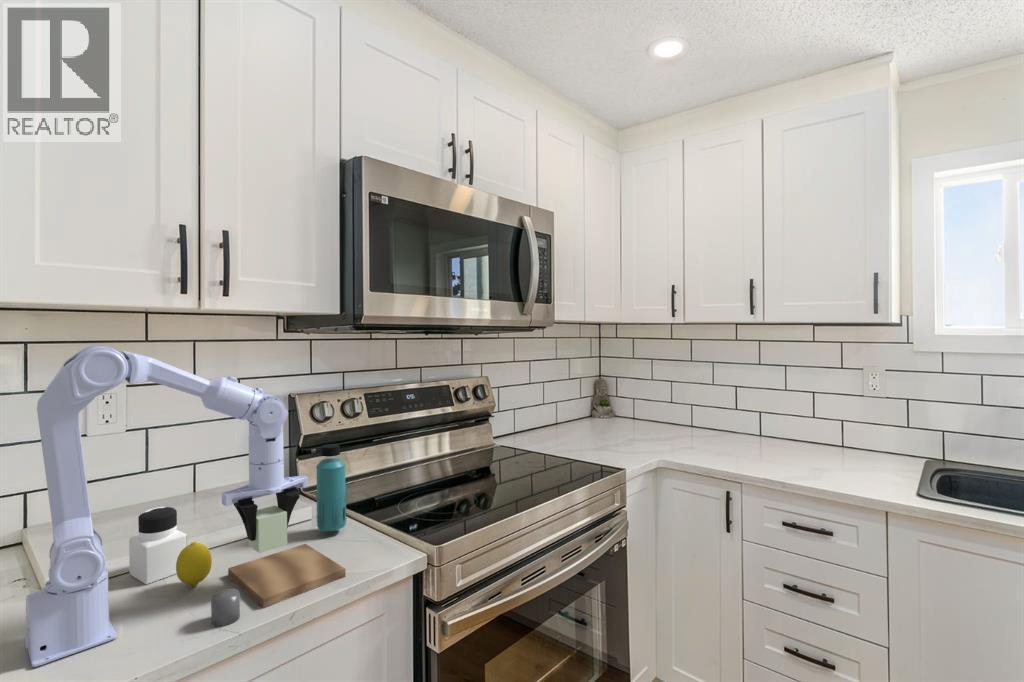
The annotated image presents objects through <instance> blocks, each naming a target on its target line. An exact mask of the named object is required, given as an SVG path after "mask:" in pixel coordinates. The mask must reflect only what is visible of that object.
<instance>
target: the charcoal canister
mask: <svg viewBox="0 0 1024 682" xmlns="http://www.w3.org/2000/svg"><path fill="white" fill-rule="evenodd" d="M240 603H241V601H240V590H239V589H236V588H227V589H223V590H218V591H217V592H215V593H214V594H212V595H211V598H210V614H211V617H210V618H211V619H210V621H211V625H212V626H213V627H216V628H221V627H227V626H230V625H233V624H235V623H236V622H237V621H239V619H240V616H241V614H240V613H241V612H240V607H241V606H240V605H241V604H240Z"/></svg>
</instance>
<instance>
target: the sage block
mask: <svg viewBox="0 0 1024 682" xmlns="http://www.w3.org/2000/svg"><path fill="white" fill-rule="evenodd" d="M247 545H248V547H250V548H252V549H253V550H254V552H255V551H256V552H257V553H258V554H260V553H261V554H262V553H264V552H268V551H270V550H274V549H277V548H280V547H283V546H287V545H288V528H287V512H286V511H284V510H282V509H281V508H279V507H278V505H271V506H268V507H263V508H260V509H257V514H256V540H254V541H251V540H249V539H248V538H247Z"/></svg>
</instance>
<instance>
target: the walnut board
mask: <svg viewBox="0 0 1024 682" xmlns="http://www.w3.org/2000/svg"><path fill="white" fill-rule="evenodd" d="M227 570H228V571H227V572H228V573H227V575H229V576H230V577H231V578H232V579H233V580H234V581H235V582H236V583H237V584H236V583H235V582H234V581H233V580H232V579H231V578H230V577H229V576H228V577H229V578H230V579H231V580H232V581H233V582H234V583H235V584H236V585H238V586H239V588H241V589H242V590H243V591H244V590H245V591H246V592H247V593H248V594H247V593H246V592H245V591H244V592H245V593H246V594H247V595H248V596H250V598H252V599H253V600H254V601H255V602H256V603H257V604H259V606H260V607H262V608H263V609H265V608H267V607H270V606H272V605H275V604H278V603H280V601H281V602H283V601H285V599H286V600H288V599H291V598H293V597H296V596H298V594H299V595H301V594H303V592H304V593H305V592H308V590H309V591H311V589H312V590H314V589H316V587H317V588H319V587H322V586H324V584H325V585H327V584H330V583H333V582H334V580H335V581H338V580H340V579H343V578H345V577H346V568H345V567H343V566H342V565H340V564H339V563H337V562H336V561H334V560H333V559H330V558H329V557H327V556H326V555H324V554H323V553H321V552H320V551H318V550H316V549H315V548H313V547H312V546H310V545H309V544H307V543H304V544H300V545H297V546H294V547H290V548H289V549H288V548H287V549H285V550H282V551H278V552H275V553H271V554H268V555H266V556H261V557H260V558H256V559H253V560H250V561H247V562H244V563H240V564H237V565H234V566H231V567H228V569H227ZM337 579H338V580H337ZM329 582H330V583H329ZM326 583H327V584H326ZM321 585H322V586H321ZM313 588H314V589H313ZM295 595H296V596H295ZM290 597H291V598H290ZM287 598H288V599H287ZM282 600H283V601H282Z"/></svg>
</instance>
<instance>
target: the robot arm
mask: <svg viewBox="0 0 1024 682" xmlns="http://www.w3.org/2000/svg"><path fill="white" fill-rule="evenodd" d="M124 381H125V382H126V383H128V385H133V384H140V383H147V382H150V383H155V384H157V385H162V386H165V387H167V388H170V389H173V390H177V391H180V392H183V393H187V394H190V395H193V396H196V397H198V398H200V399H201V402H202V404H203V406H204V408H205V409H207V410H212V411H215V412H217V413H220V414H223V415H226V416H229V417H232V418H235V419H238V420H241V421H242V420H243V421H245V420H246V421H247V422H248V484H246V485H243V486H240V487H237V488H234V489H231V490H229V491H224V492H221V504H222V505H223V506H225V507H229V506H234V507H235V510H236V511H237V513H238V514H239V516H240V518H241V521H242V523H243V526H244V529H245V532H246V538H247V540H248V539H249V540H251V541H254V540H256V514H257V510H258V507H259V506H258V504H256V503H255V501H254V500H253V499H257V498H261V497H265V496H271V495H275V497H276V503H277V507H279V508H281V509H282V510H284V511H286V512H287V529H288V527H289V522H290V519H291V517H292V513H293V510H294V508H295V506H296V504H297V502H298V501H299V499H300V497H301V495H300V494H301V493H300V491H299V490H297V489H299V488H302V489H305V488H309V487H308V486H309V484H308V483H309V477H308V476H306V475H303V474H302V475H297V476H295V475H294V476H288V477H285V472H284V471H285V470H284V469H285V468H284V467H285V465H284V463H285V461H284V455H285V454H284V429H283V428H284V427H283V426H284V423H286V421H287V418H288V415H289V411H288V409H287V407H286V403H284V401H283V400H282V399H281V398H279V397H277V396H275V395H271V394H268V393H267V392H265V391H264V389H263V388H260V387H256V388H253V387H251V386H248V385H246V384H243V383H241V382H237V381H238V378H236V377H234V376H231V375H228V376H227V377H224V376H217V377H215V378H212V379H206V378H205V377H201V376H199V375H196V374H194V373H191V372H189V371H186V370H184V369H181V368H178V367H177V366H173V365H171V364H168V363H166V362H163V361H161V360H159V359H156V358H154V357H152V356H147V355H144V354H140V353H135V352H131V351H128V350H121V349H120V352H119V350H118V351H117V350H116V349H114V348H113V347H110V346H107V345H103V344H102V345H101V344H94V345H93V344H92V345H90V346H87V347H86V346H85V347H84V348H82V349H81V350H79V351H78V352H76V353H75V354H74V355H72V356H71V357H70V358H68V359H67V360H65V361H64V363H63V364H62V366H61V367H60V369H59V371H58V372H57V373H56V375H55V376H54V377H53V379H52V380H51V381H50V382H49V384H48V386H47V387H46V388H45V390H44V391H43V392H42V394H41V395H40V397H39V399H38V400H37V404H36V411H37V412H36V413H37V420H38V426H39V434H40V441H41V447H42V448H41V449H42V457H43V463H44V465H43V466H44V472H45V480H46V481H45V482H46V487H47V495H48V502H49V509H50V519H51V524H52V538H53V539H52V540H53V541H52V544H51V546H50V548H49V552H48V553H49V555H48V556H49V559H50V563H49V569H48V580H47V581H46V582H45V587H44V588H42V589H39V590H37V591H35V592H32V593H29V594H27V595H26V598H25V622H26V635H24V647H25V649H27V652H28V656H29V660H30V664H31V668H36V667H39V666H43V665H45V664H48V663H51V662H54V661H56V660H60V659H62V658H65V657H68V656H70V655H74V654H77V653H80V652H83V651H84V650H88V649H91V648H93V647H96V646H99V645H101V644H104V643H107V642H110V641H113V640H115V639H117V638H118V633H117V632H116V630H115V629H114V626H113V625H112V622H111V620H110V609H109V608H110V607H109V606H110V605H109V571H108V568H106V564H107V560H106V556H105V553H104V551H103V539H102V536H101V535H100V533H98V532H97V531H96V530H95V528H94V526H93V519H92V513H91V503H90V496H89V494H90V493H89V486H88V480H87V473H86V464H85V457H84V456H85V455H84V448H83V441H82V440H83V439H82V431H81V423H80V416H79V414H80V412H81V411H82V410H83V409H85V408H86V407H87V406H88V405H90V403H91V402H92V401H93V400H95V398H96V397H98V396H100V395H102V394H104V393H107V392H109V391H111V390H112V389H114V388H116V387H119V386H120V385H121V384H122V383H123V382H124Z"/></svg>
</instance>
